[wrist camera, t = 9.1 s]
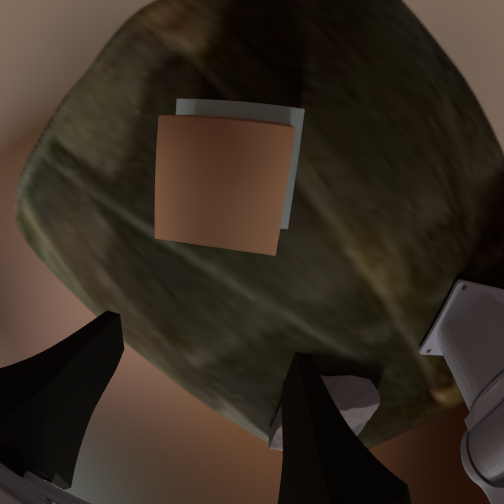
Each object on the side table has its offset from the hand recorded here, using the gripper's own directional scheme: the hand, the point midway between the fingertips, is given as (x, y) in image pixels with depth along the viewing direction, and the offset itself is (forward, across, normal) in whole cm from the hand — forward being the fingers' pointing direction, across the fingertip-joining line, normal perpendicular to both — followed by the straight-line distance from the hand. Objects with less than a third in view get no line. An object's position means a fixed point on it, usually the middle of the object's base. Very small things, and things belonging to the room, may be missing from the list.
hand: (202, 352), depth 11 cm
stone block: (+11, -12, +17) cm, 23 cm away
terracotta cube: (+6, 0, -6) cm, 9 cm away
